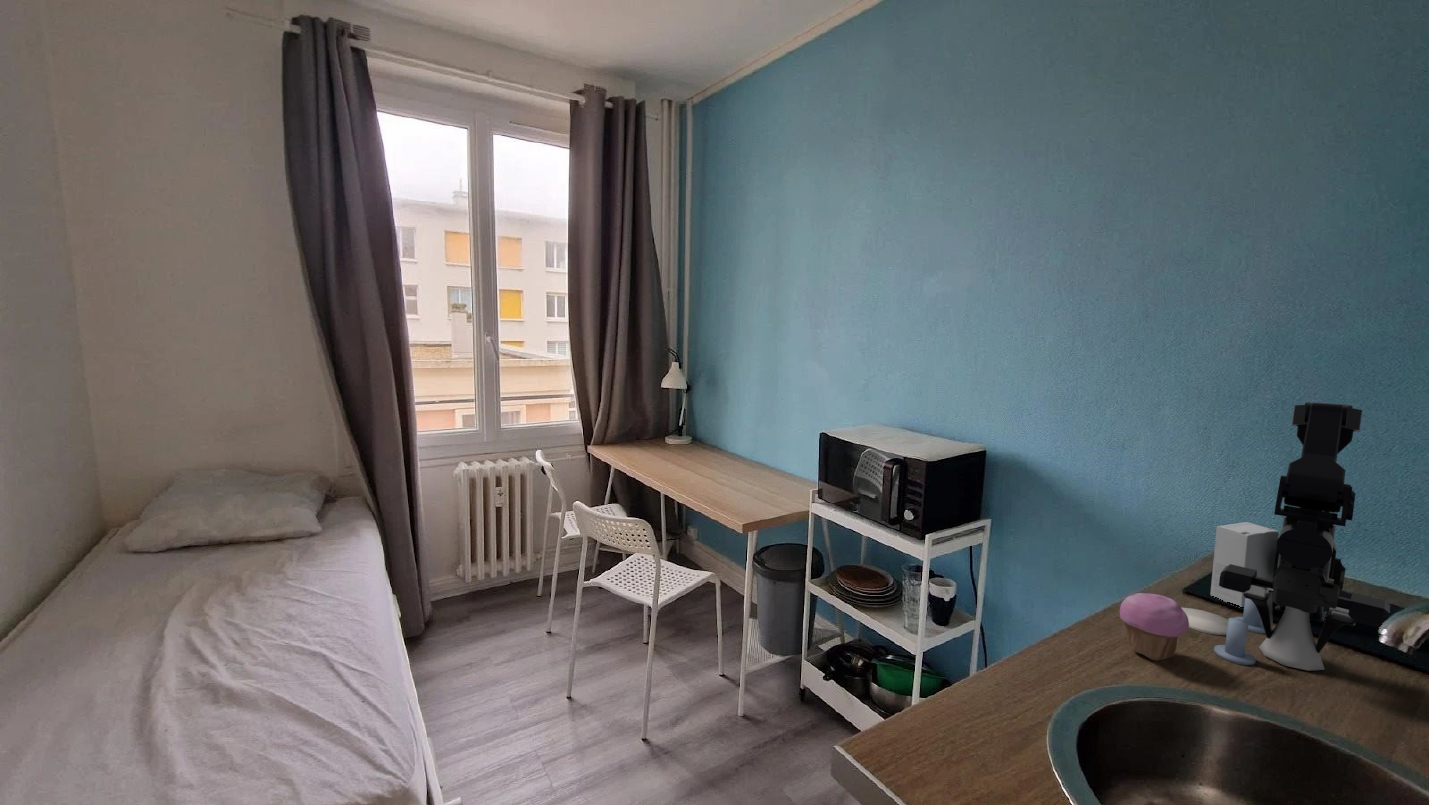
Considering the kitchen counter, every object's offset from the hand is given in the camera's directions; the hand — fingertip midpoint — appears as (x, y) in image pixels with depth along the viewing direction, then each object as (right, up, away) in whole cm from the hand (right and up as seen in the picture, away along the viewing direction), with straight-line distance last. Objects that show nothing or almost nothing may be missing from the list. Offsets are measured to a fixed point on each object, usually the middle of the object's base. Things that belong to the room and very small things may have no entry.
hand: (1292, 644), depth 94 cm
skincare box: (+11, 0, +21) cm, 24 cm away
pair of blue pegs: (-3, -2, +6) cm, 7 cm away
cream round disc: (-4, -1, +12) cm, 13 cm away
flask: (0, -3, 0) cm, 3 cm away
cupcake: (-22, -2, +1) cm, 22 cm away
